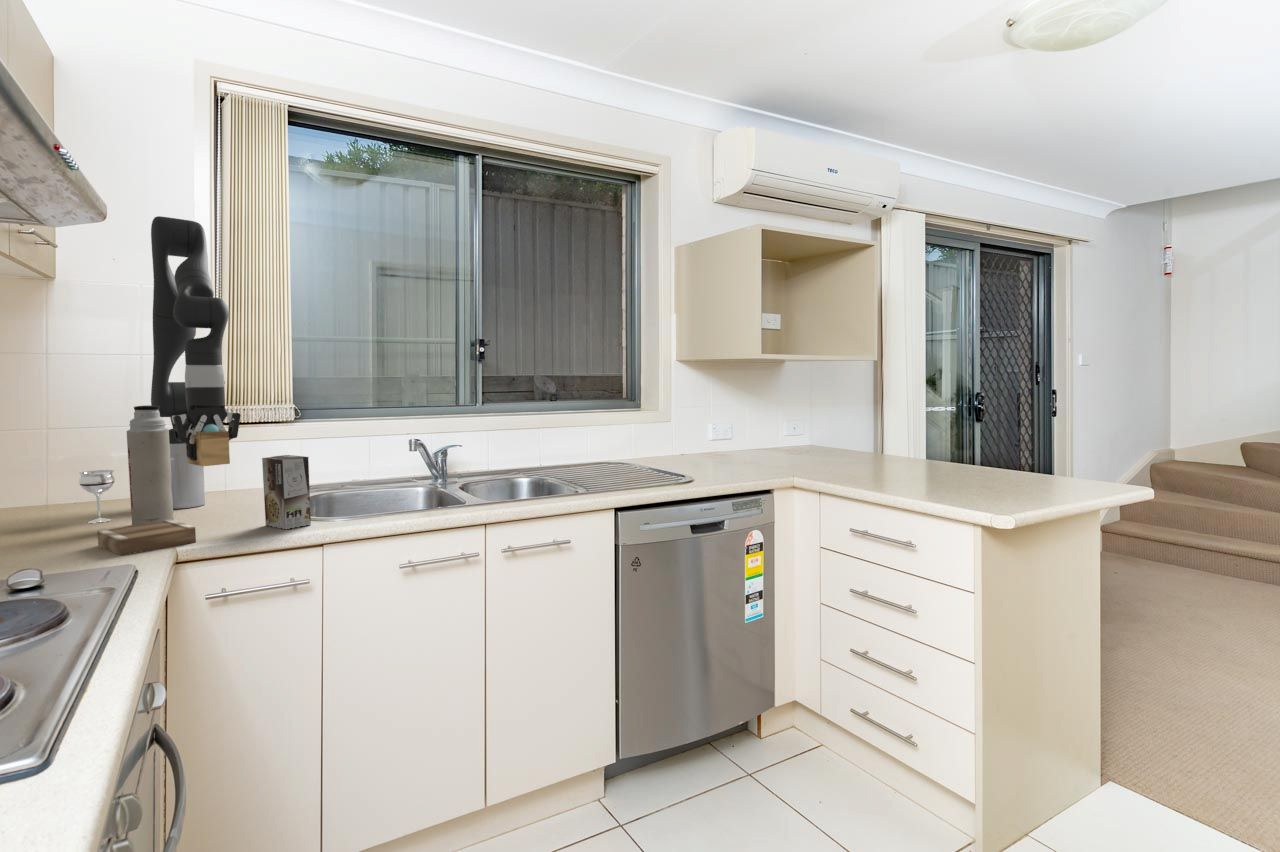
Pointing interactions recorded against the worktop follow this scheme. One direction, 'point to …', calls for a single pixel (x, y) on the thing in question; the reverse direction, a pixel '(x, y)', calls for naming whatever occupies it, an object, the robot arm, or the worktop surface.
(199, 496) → the robot arm
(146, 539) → the dock
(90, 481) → the wineglass
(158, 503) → the thermos bottle
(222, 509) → the worktop surface
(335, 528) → the worktop surface
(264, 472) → the coffee box
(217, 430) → the ball
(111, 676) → the worktop surface
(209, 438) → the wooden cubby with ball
